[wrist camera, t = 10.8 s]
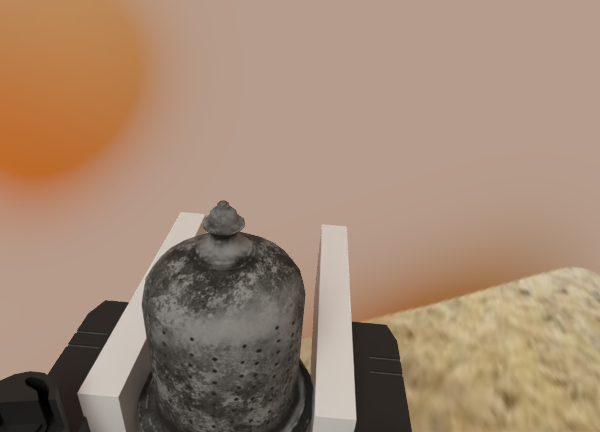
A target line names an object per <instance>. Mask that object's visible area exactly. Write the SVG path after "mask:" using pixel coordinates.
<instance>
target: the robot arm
mask: <svg viewBox="0 0 600 432" xmlns="http://www.w3.org/2000/svg"><path fill="white" fill-rule="evenodd" d="M205 218H206V216H205V214H196V213H186V212H181V213H180V215H179V217H178V218H177V220H176V222H175V224H174V225H173V227H172V229H171V230H170V232H169V234H168V236H167V237H166V239H165V241H164V243H163V244H162V246H161V248H160V250H159V251H158V253H157V255H156V257H155V258H154V260H153V262H152V264H151V265H150V267H149V269H148V271H147V272H146V274H145V276H144V278H143V279H142V281H141V283H140V285H139V286H138V288H137V290H136V292H135V294H134V295H133V297H132V298H131V300H130V302H129V303H128V302H118V301H107V300H106V301H104V302H103V303H102V304H100V305H99V306H98V307H97V308H95V309H94V310H92V311H91V312H90V313H89V314H88V315H87V316H86V318H85V319H84V321H83V322H82V324H81V326H80V327H79V328H78V330H77V333H75V334H74V336H73V337H72V339H71V340H70V342H69V343H68V344H69V345H68V347H66V348H65V349H64V351H63V353H62V354H61V355H60V357H59V358H58V360H57V361H56V363H55V364H54V366H53V367H52V369H51V371H50V372H49V373H48V375H46V374H45V373H40V372H31V371H30V372H24V373H19V374H14V375H12V376H10V377H7V378H5V379H3V380H1V381H0V432H141V429H140V424H139V418H138V413H137V410H138V403H139V397H140V394H141V391H142V389H143V387H144V384H145V382H146V380H147V378H148V375H149V373H150V372H151V363H150V357H149V350H148V344H147V338H146V331H145V325H144V318H143V312H142V298H143V291H144V285H145V279H146V277H147V275H148V274H149V272H150V270H151V269H152V267H153V266H154V264H155V263H156V262H157V261H158V259H159V258H160V257H161V256H162V255H163V254H164V253H165V252H166V251H168V250H169V249H170V248H171V247H173V246H175V245H176V244H178V243H180V242H182V241H184V240H186V239H189V238H192V237H195V236H198V235H201V234H206V230H205V229H203V220H204V219H205ZM348 263H349V262H348V243H347V227H346V226H333V225H323V224H322V229H321V239H320V248H319V257H318V267H317V277H316V286H315V297H314V317H313V336H312V355H311V374H310V377H311V381H312V386H313V402H312V417H311V420H310V422H309V425H308V432H412V429H411V423H410V417H409V411H408V405H407V399H406V393H405V386H404V380H403V377H402V368H401V362H400V356H399V350H398V344H397V340H396V339H395V337H394V336H393V334H392V333H391V331H390V330H389V328H388V327H387V325H382V324H371V323H360V322H351V304H350V303H351V302H350V282H349V264H348Z"/></svg>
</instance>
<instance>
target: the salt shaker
mask: <svg viewBox="0 0 600 432" xmlns="http://www.w3.org/2000/svg"><path fill="white" fill-rule="evenodd" d="M244 227H245V221H244V218H242V217H241V216H239V215H238V214H237V212H236V210H235V209H234V208H232V207H231V206H229V203H228V202H226V201H220V202H219V203H218V204H217V206H216V207H215V208H213V209H212V210H211V211H210V215H209V216H207V217H206V218H205V219H204V220H203V229H205V230H206V231H207V232H208V233H206V234H201V235H198V236H195V237H192V238H189V239H186V240H184V241H182V242H180V243H178V244H176V245H175V246H173V247H171V248H170V249H169V250H168V251H166V252H165V253H164V254H163V255H162V256H161V257H160V258H159V259H158V261H157V262H156V263H155V264H154V266H153V267H152V269H151V270H150V272H149V274H148V275H147V277H146V279H145V285H144V291H143V298H142V312H143V318H144V325H145V331H146V338H147V344H148V350H149V357H150V363H151V372H150V373H149V375H148V378H147V380H146V382H145V384H144V387H143V389H142V391H141V394H140V397H139V403H138V410H137V413H138V418H139V424H140V429H141V432H308V425H309V422H310V420H311V417H312V402H313V386H312V381H311V377H310V374H309V373H308V371H307V369H306V367H305V366H304V364H303V362H302V361H301V359H300V347H301V336H302V325H303V314H304V303H305V290H304V284H303V280H302V277H301V273H300V270H299V268H298V267H297V265H296V264H295V263H294V262H293V260H292V259H291V258H290V257H289V255H288V254H287V253H286V252H285V251H284V250H283V249H281V248H280V247H279V246H277V245H276V244H275V243H273V242H271V241H269V240H266V239H264V238H262V237H258V236H255V235H251V234H247V233H243V232H240V231H241V230H242V229H243V228H244Z"/></svg>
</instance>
